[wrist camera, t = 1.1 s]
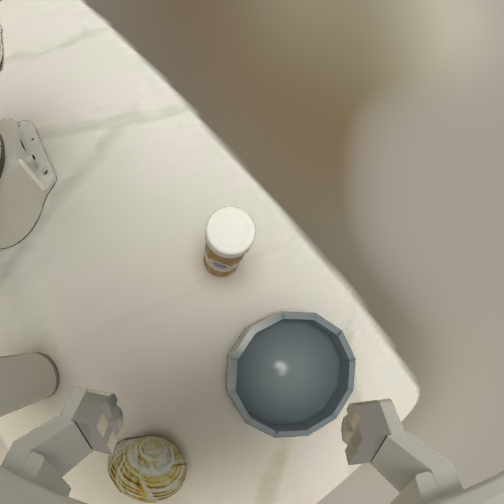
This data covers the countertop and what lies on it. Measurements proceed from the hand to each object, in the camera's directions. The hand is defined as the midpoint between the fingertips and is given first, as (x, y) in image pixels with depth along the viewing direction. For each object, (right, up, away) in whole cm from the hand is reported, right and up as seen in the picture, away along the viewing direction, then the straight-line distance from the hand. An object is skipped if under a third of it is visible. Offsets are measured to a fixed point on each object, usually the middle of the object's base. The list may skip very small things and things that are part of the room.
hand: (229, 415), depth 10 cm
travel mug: (-28, -11, +24) cm, 38 cm away
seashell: (-13, -22, +24) cm, 35 cm away
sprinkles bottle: (-3, +4, +32) cm, 32 cm away
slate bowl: (+5, -10, +29) cm, 31 cm away
